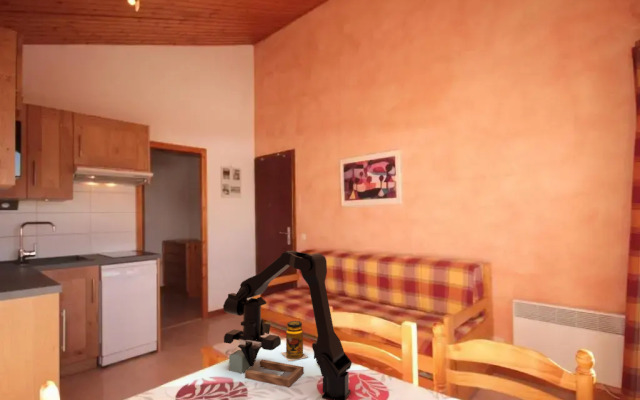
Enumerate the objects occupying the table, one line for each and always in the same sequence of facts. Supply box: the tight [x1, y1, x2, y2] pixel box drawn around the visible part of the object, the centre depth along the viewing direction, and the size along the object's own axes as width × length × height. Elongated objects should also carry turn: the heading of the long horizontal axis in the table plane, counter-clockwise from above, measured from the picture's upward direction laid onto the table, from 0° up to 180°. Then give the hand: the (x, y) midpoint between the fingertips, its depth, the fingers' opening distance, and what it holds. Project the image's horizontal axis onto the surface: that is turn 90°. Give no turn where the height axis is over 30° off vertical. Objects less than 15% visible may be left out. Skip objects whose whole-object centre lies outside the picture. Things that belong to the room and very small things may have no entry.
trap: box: [279, 371, 292, 377], centre depth 109 cm, size 4×6×1 cm, turn 157°
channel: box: [244, 358, 305, 388], centre depth 111 cm, size 16×10×2 cm, turn 67°
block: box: [228, 349, 252, 374], centre depth 116 cm, size 5×5×5 cm
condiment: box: [280, 320, 308, 362], centre depth 127 cm, size 7×8×12 cm
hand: (251, 366), depth 114 cm, fingers closed
